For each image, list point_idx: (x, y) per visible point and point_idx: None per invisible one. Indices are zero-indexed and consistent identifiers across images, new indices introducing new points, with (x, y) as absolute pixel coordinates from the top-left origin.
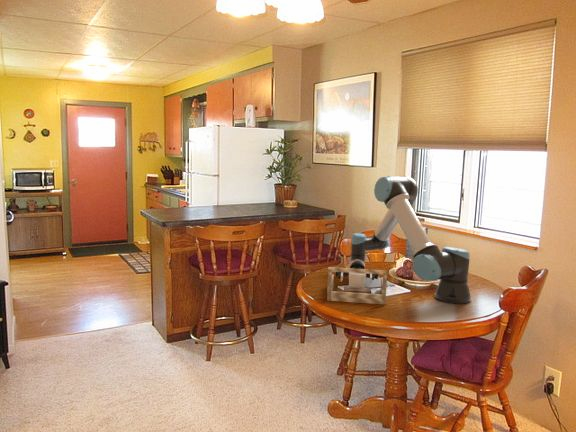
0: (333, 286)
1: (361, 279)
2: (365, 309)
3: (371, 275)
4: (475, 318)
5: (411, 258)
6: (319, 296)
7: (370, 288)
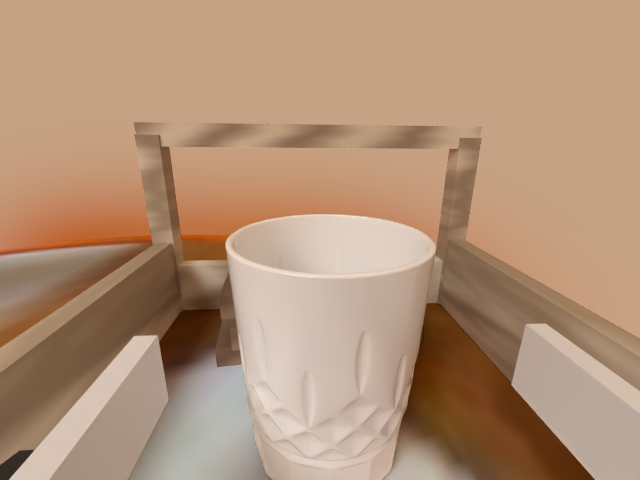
0: None
1: (285, 260)
2: None
3: (53, 439)
4: None
5: None
6: None
7: (220, 295)
